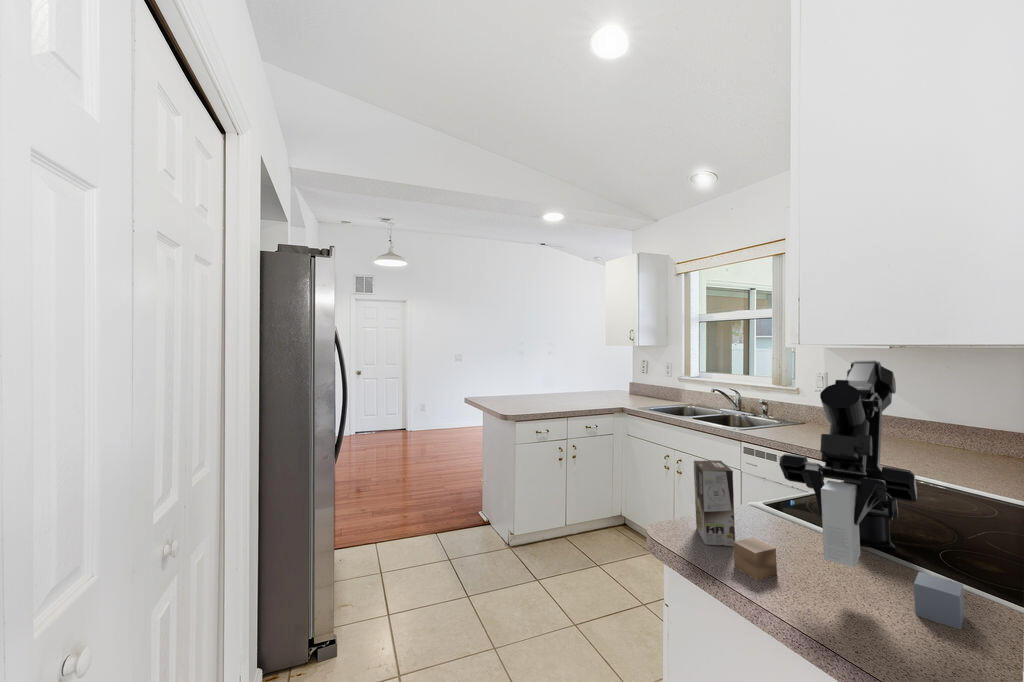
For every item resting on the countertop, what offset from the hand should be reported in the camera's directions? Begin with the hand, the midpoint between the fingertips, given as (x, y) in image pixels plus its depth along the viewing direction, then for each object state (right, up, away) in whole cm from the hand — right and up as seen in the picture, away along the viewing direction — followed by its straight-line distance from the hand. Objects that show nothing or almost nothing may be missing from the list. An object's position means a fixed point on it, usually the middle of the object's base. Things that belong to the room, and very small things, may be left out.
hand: (838, 520), depth 72 cm
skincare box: (+1, -7, +1) cm, 7 cm away
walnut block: (-8, -14, +10) cm, 19 cm away
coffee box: (-9, -14, +25) cm, 30 cm away
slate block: (+12, -13, -5) cm, 18 cm away
